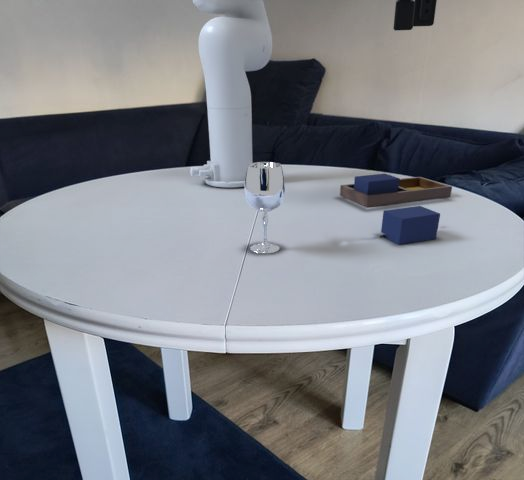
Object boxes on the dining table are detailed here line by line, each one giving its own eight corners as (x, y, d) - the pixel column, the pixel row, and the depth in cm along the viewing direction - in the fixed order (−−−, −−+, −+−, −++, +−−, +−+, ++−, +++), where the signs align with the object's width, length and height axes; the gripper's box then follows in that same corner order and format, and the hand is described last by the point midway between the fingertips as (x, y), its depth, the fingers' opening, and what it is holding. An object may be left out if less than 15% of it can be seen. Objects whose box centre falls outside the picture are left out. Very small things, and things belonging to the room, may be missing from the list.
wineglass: (245, 242, 75) (243, 161, 69) (281, 241, 76) (282, 160, 70) (246, 255, 71) (244, 169, 64) (286, 254, 71) (287, 168, 65)
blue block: (366, 203, 93) (368, 181, 91) (352, 197, 97) (354, 176, 95) (397, 199, 95) (399, 178, 93) (382, 193, 99) (385, 173, 97)
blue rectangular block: (398, 244, 74) (402, 218, 72) (380, 235, 78) (383, 210, 76) (436, 238, 76) (440, 213, 74) (416, 229, 80) (420, 205, 78)
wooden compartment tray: (449, 199, 97) (452, 186, 95) (366, 210, 91) (367, 196, 89) (418, 189, 105) (420, 176, 103) (339, 198, 99) (340, 185, 97)
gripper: (385, -97, 77) (375, 32, 86) (422, -135, 62) (406, 25, 71) (431, -97, 77) (417, 30, 86) (479, -136, 62) (456, 23, 71)
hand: (412, 28), depth 78 cm, fingers open, 9 cm apart
